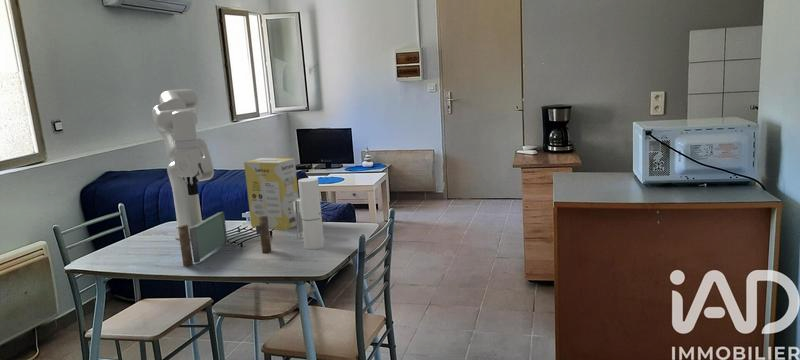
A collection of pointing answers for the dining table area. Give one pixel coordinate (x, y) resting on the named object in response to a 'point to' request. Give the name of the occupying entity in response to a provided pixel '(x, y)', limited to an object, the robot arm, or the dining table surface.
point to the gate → (208, 236)
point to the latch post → (264, 234)
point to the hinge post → (185, 245)
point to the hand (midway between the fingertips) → (193, 194)
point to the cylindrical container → (311, 213)
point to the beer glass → (298, 217)
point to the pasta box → (272, 191)
